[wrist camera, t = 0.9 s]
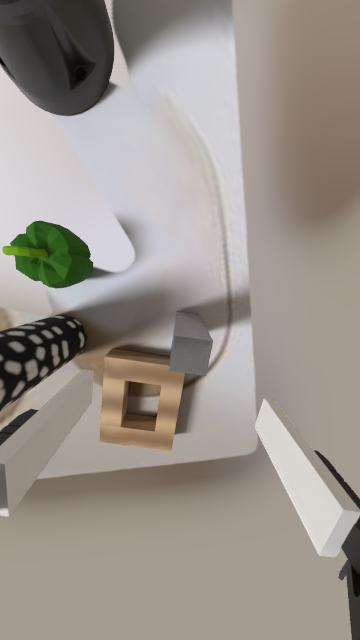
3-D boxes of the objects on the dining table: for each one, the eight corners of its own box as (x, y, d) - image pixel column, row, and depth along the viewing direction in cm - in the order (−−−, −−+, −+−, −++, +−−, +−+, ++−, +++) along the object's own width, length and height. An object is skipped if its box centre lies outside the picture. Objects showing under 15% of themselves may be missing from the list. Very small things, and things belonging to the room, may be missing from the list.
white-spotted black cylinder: (96, 337, 32) (-34, 424, 13) (68, 365, 33) (-88, 484, 14) (60, 305, 31) (-148, 348, 11) (33, 336, 32) (-194, 422, 13)
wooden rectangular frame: (112, 348, 33) (104, 356, 29) (185, 359, 33) (186, 368, 30) (107, 426, 37) (99, 441, 33) (172, 435, 37) (171, 450, 34)
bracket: (177, 311, 31) (174, 335, 17) (198, 314, 31) (213, 341, 17) (171, 347, 32) (164, 395, 19) (192, 350, 33) (200, 400, 19)
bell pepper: (108, 248, 29) (71, 231, 19) (93, 293, 30) (51, 299, 21) (59, 224, 28) (-6, 194, 18) (46, 272, 30) (-20, 268, 20)
